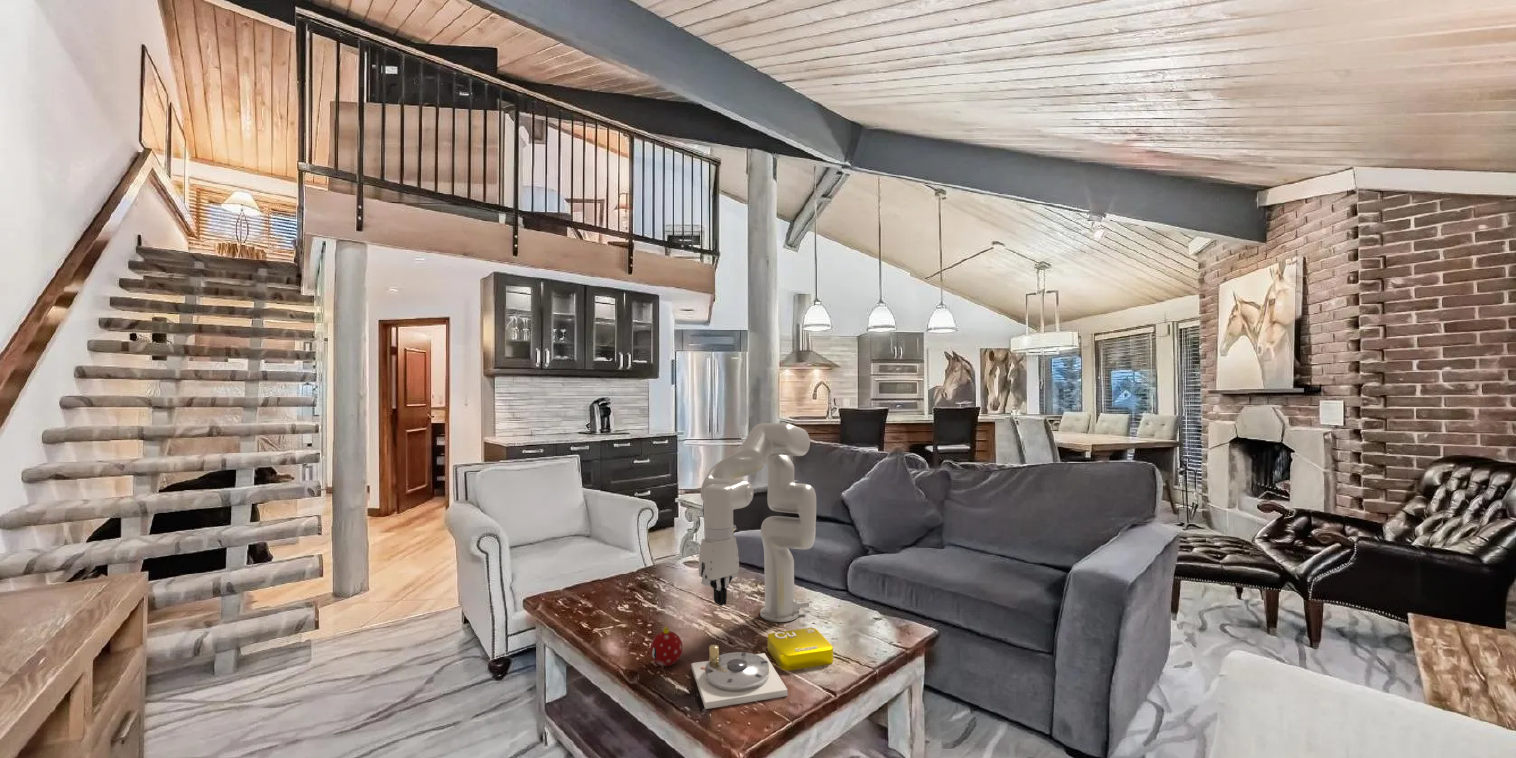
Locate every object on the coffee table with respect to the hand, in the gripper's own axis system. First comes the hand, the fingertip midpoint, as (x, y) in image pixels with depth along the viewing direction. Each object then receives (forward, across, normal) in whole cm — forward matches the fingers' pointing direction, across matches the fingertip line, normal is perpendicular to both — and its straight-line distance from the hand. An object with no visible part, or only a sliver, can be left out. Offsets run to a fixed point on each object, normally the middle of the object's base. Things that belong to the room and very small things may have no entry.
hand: (720, 603), depth 155 cm
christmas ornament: (+18, +8, -13) cm, 24 cm away
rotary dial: (+16, 0, +6) cm, 17 cm away
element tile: (+19, -22, +6) cm, 30 cm away
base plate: (+18, 0, +6) cm, 19 cm away
